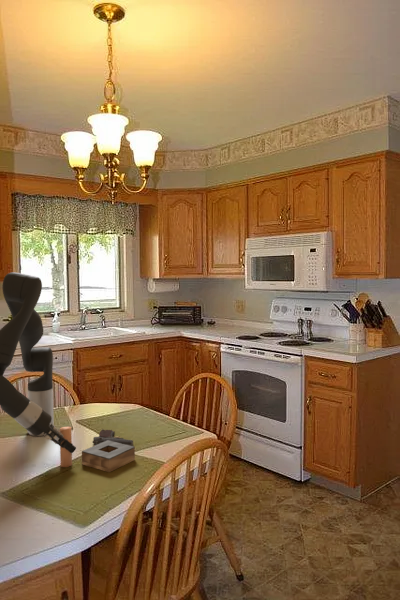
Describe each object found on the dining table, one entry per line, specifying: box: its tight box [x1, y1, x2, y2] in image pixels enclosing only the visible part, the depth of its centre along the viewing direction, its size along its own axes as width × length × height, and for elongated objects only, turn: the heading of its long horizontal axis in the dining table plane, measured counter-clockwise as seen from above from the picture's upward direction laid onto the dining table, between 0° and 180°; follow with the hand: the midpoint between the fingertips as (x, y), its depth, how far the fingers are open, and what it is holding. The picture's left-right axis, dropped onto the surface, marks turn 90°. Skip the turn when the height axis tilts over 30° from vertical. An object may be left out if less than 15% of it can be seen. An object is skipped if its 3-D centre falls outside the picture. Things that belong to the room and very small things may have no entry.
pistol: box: [92, 428, 134, 446], centre depth 179 cm, size 3×15×12 cm
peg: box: [59, 426, 73, 468], centre depth 157 cm, size 4×4×12 cm
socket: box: [81, 440, 136, 473], centre depth 159 cm, size 12×12×4 cm
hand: (72, 448), depth 158 cm, fingers closed on peg, 3 cm apart
